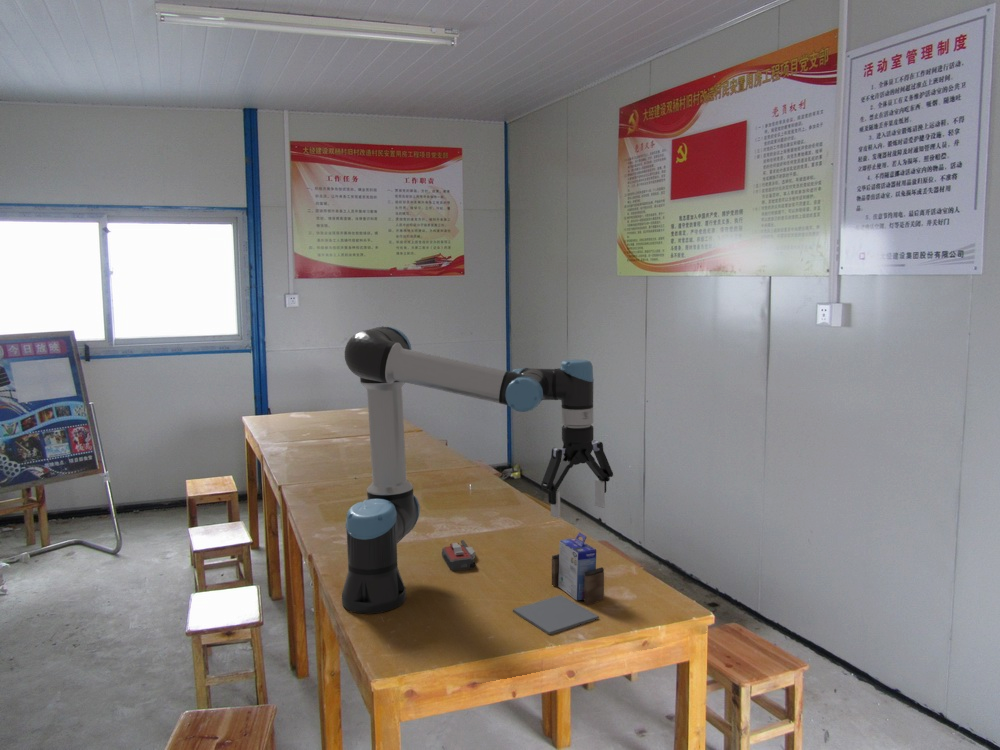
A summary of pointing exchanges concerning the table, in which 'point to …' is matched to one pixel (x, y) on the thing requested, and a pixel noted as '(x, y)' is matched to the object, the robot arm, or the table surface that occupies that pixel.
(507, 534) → the table surface
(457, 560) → the walkie-talkie
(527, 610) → the grey mat
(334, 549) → the table surface
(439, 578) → the table surface
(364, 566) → the robot arm
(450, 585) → the table surface
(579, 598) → the ink cartridge box
